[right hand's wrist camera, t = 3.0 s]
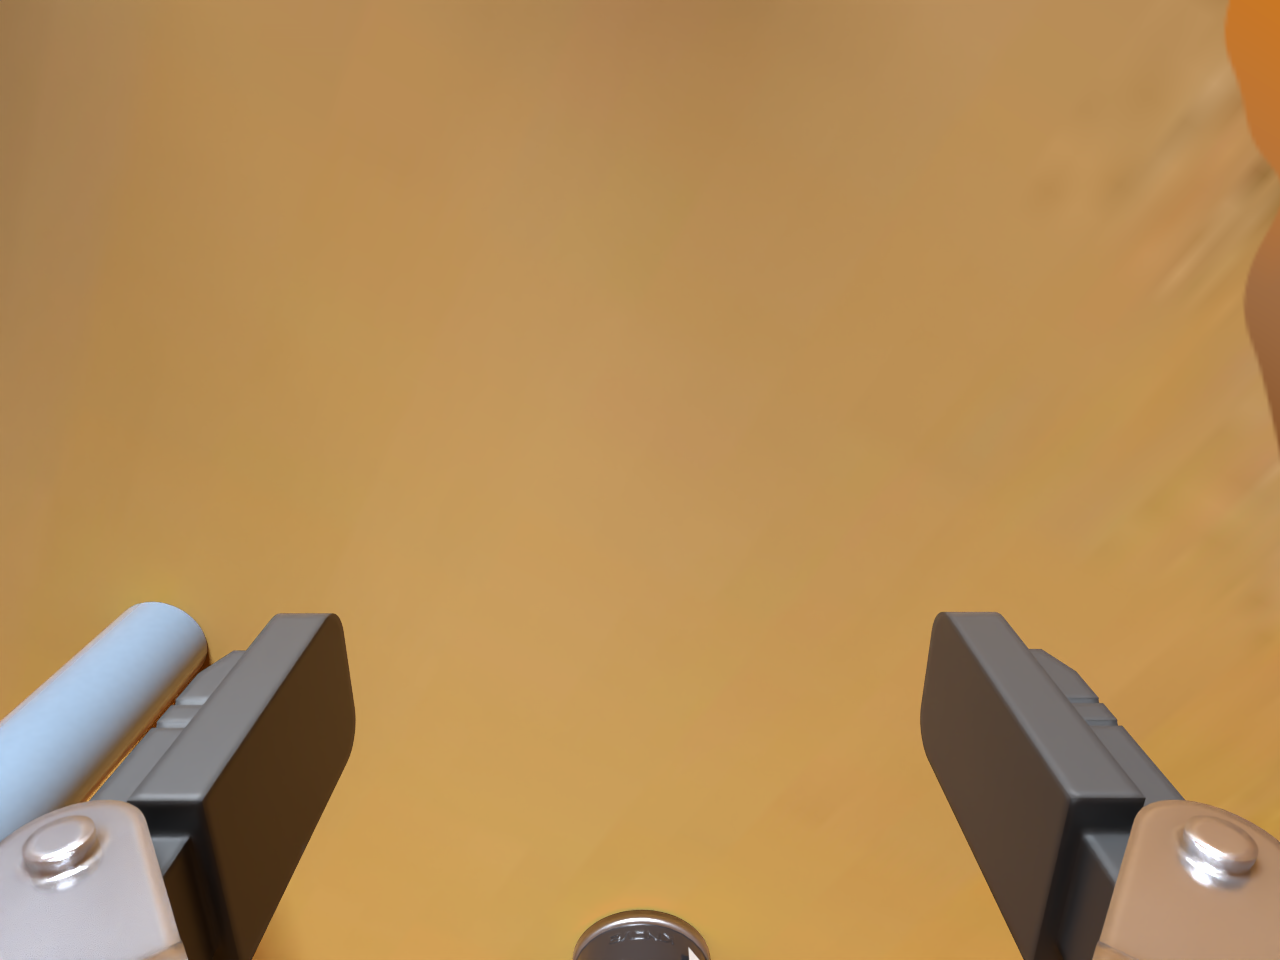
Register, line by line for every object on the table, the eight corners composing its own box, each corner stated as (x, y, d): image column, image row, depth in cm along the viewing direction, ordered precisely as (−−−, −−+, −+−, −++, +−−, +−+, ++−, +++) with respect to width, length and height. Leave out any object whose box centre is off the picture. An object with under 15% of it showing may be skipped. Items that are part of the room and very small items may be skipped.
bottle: (187, 694, 50) (-137, 1078, 29) (101, 653, 49) (-297, 1020, 28) (221, 629, 49) (-94, 987, 28) (134, 585, 48) (-262, 922, 27)
